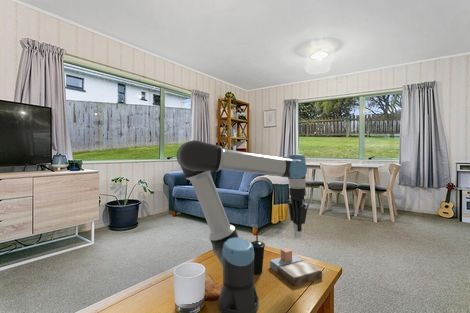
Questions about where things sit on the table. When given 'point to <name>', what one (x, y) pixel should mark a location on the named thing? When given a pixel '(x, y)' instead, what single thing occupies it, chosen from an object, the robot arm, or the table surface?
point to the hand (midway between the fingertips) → (297, 237)
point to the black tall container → (258, 255)
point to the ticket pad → (299, 273)
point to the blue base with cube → (284, 259)
